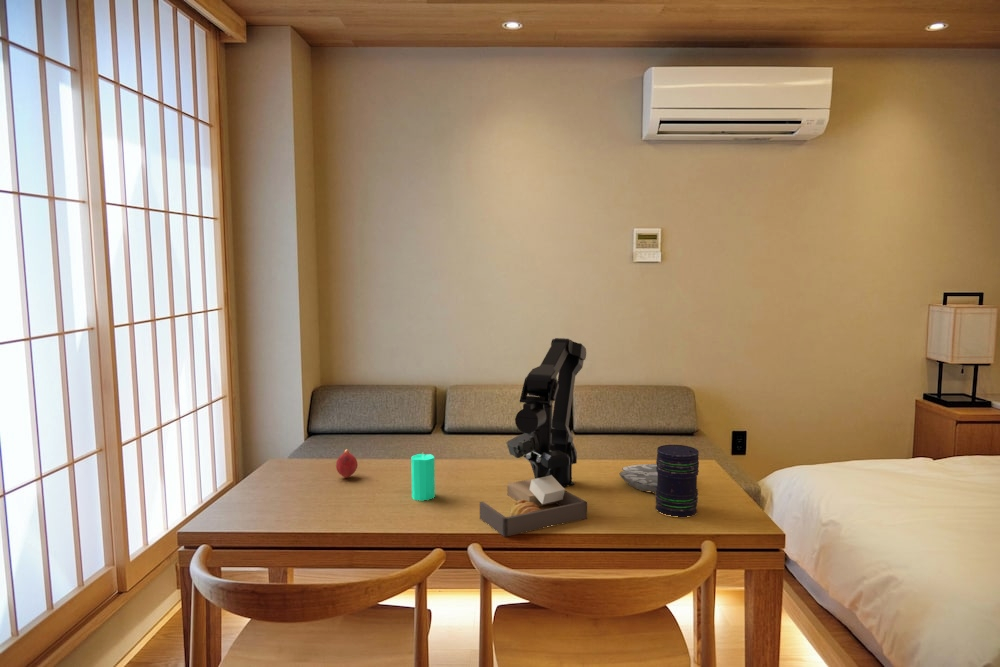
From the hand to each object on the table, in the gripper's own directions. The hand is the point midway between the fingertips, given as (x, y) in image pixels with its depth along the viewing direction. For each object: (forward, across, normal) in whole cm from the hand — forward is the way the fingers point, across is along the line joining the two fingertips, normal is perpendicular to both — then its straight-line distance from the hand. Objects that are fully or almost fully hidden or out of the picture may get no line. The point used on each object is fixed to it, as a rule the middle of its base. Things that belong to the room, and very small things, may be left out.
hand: (538, 484), depth 169 cm
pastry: (+5, +8, -8) cm, 12 cm away
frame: (+4, +9, -7) cm, 12 cm away
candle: (+5, -17, -24) cm, 30 cm away
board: (+4, -3, 0) cm, 5 cm away
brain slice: (+4, +2, +34) cm, 35 cm away
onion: (+6, -41, -37) cm, 56 cm away
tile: (+2, +3, 0) cm, 3 cm away
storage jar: (+4, +20, +27) cm, 34 cm away
